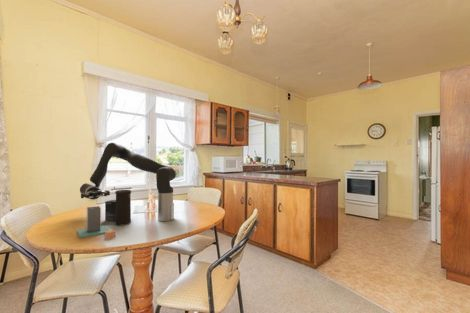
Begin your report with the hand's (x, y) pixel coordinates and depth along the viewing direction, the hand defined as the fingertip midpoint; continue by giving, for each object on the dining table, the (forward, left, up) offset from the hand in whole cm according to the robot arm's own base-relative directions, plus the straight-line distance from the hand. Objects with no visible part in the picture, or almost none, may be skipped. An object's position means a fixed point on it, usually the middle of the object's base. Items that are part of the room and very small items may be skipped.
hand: (97, 195), depth 127 cm
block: (-16, +16, -18) cm, 29 cm away
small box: (-3, -16, -18) cm, 25 cm away
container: (-11, -8, -18) cm, 23 cm away
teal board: (-3, +8, -18) cm, 20 cm away
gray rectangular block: (-3, +8, -17) cm, 19 cm away
